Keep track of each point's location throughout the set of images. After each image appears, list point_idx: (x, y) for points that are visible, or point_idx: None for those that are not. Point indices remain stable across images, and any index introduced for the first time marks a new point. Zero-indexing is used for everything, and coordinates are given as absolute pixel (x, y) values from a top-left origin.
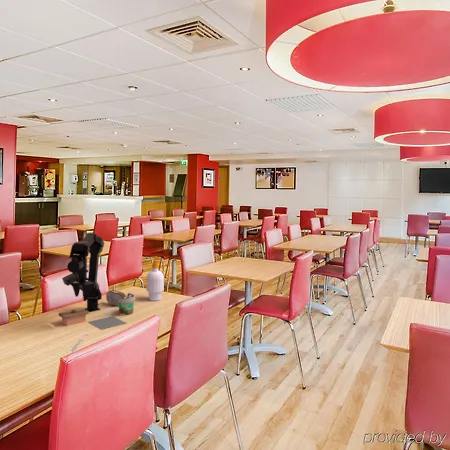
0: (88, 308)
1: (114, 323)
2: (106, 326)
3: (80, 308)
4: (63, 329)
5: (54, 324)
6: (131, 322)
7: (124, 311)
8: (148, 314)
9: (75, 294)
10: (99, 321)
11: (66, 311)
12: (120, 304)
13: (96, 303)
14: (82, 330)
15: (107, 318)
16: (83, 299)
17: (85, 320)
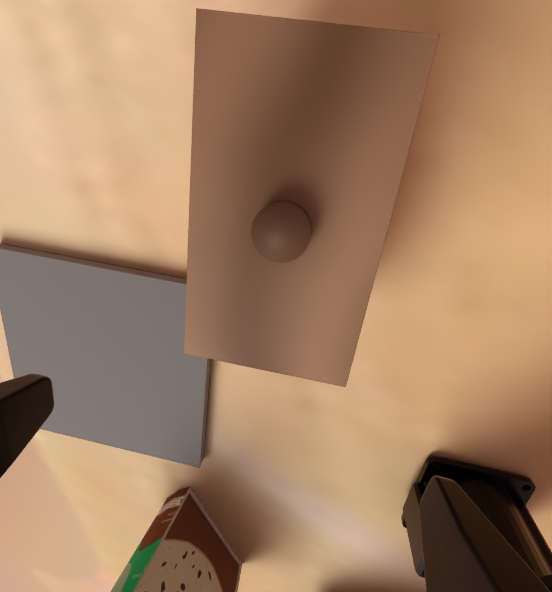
0: (472, 488)
1: (61, 382)
2: (35, 315)
3: (345, 366)
4: None
5: (445, 46)
6: (56, 454)
7: (146, 533)
8: (118, 569)
9: (457, 520)
10: (159, 352)
11: (388, 174)
12: (128, 583)
13: (418, 559)
14: (98, 158)
15: (179, 421)
16: (13, 388)
17: None
